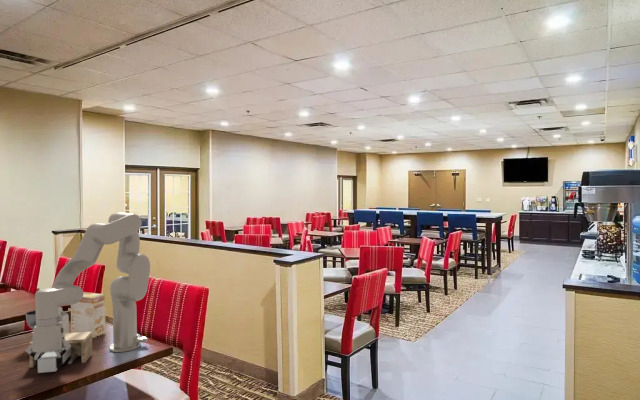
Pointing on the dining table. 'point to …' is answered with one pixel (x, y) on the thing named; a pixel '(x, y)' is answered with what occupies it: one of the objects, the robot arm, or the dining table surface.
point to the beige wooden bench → (75, 346)
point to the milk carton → (65, 321)
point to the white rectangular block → (51, 361)
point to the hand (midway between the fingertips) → (49, 367)
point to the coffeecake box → (89, 314)
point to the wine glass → (31, 319)
